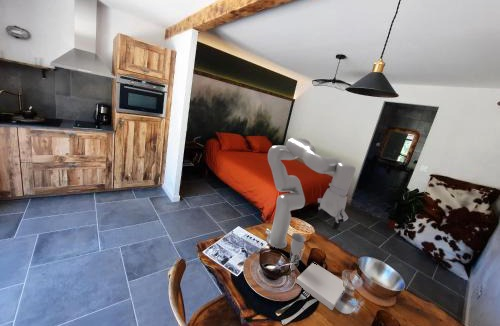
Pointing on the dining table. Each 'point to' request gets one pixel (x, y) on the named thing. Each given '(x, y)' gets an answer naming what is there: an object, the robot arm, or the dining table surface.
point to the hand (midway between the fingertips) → (326, 222)
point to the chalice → (296, 246)
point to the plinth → (321, 285)
